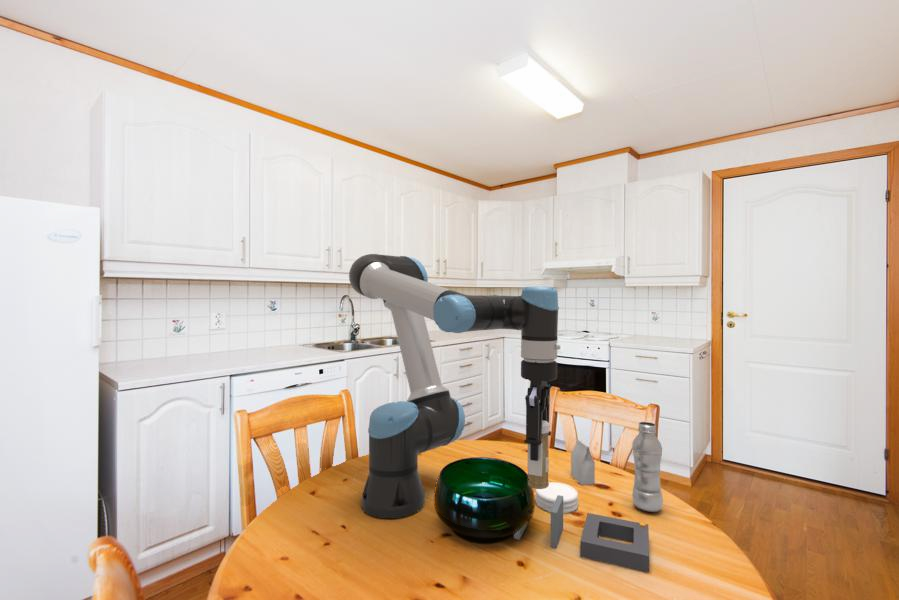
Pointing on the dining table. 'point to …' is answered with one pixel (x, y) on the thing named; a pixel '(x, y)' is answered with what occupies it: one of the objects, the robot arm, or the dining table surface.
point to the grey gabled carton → (582, 464)
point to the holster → (555, 523)
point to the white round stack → (549, 495)
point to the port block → (614, 550)
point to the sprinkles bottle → (542, 481)
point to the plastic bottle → (647, 469)
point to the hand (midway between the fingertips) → (537, 469)
